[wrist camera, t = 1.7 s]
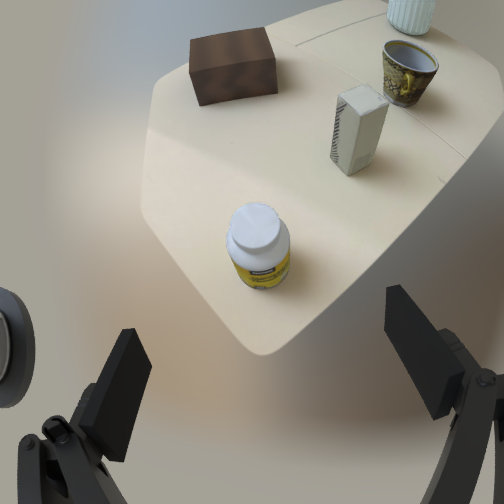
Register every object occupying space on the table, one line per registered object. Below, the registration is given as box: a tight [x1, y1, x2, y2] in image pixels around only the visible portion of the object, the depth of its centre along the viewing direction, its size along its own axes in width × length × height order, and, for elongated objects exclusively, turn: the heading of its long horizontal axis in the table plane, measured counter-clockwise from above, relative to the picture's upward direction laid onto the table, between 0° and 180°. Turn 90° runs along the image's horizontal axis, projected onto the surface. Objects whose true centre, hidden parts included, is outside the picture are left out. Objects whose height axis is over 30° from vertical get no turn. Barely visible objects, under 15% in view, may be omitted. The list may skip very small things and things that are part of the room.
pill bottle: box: [226, 203, 290, 290], centre depth 34 cm, size 6×6×12 cm
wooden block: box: [189, 27, 278, 106], centre depth 50 cm, size 14×12×8 cm
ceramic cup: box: [383, 40, 439, 108], centre depth 44 cm, size 13×10×10 cm
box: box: [330, 84, 389, 176], centre depth 38 cm, size 5×4×13 cm
